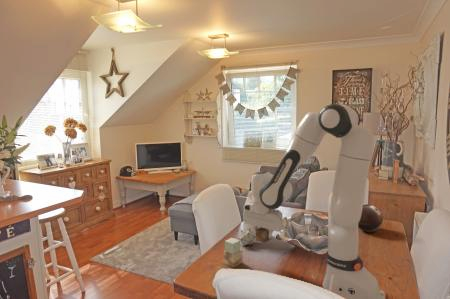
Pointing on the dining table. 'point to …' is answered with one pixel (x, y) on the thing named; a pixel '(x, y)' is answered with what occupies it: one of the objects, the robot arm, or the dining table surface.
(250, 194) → the milk
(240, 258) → the oak base block
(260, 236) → the walnut block
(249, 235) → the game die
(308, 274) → the dining table surface
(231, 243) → the sage block
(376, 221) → the wooden sphere
